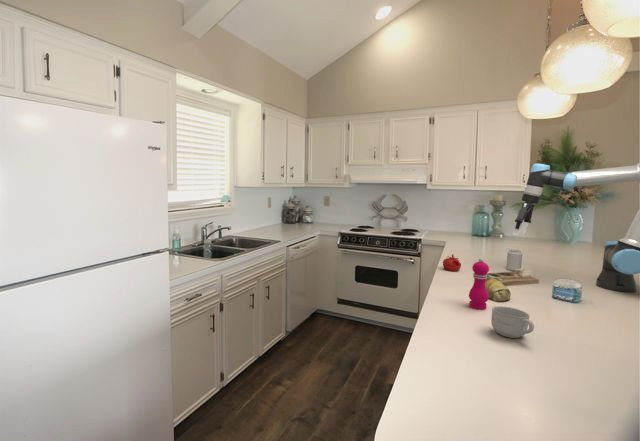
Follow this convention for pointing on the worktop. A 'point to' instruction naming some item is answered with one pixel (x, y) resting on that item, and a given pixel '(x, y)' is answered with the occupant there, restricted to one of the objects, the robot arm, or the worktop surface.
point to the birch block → (522, 273)
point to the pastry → (497, 290)
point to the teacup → (511, 321)
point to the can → (514, 260)
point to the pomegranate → (451, 264)
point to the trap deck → (510, 279)
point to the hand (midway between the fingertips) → (518, 234)
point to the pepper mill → (479, 286)
